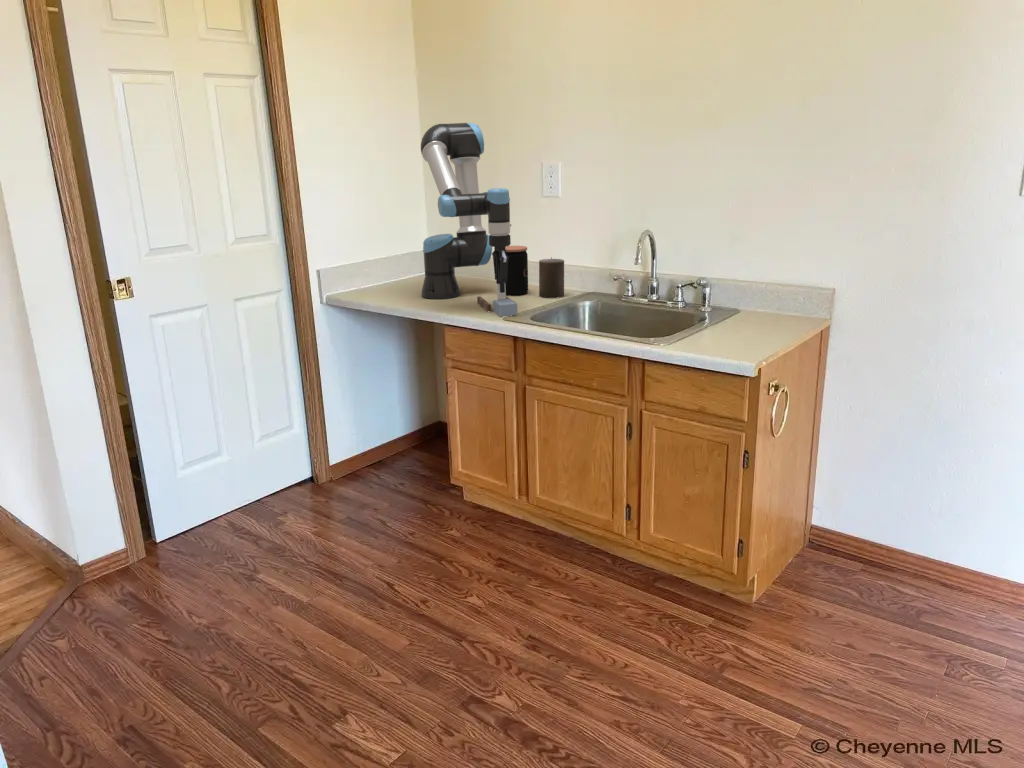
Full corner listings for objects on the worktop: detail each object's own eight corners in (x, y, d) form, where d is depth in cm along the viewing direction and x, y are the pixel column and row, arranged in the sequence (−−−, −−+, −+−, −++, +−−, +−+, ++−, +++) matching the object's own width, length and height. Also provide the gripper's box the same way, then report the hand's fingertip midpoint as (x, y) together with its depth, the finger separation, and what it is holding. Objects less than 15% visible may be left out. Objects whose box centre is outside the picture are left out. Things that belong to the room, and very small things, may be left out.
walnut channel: (477, 303, 295) (477, 296, 294) (504, 300, 297) (503, 294, 297) (488, 312, 280) (488, 305, 279) (516, 309, 283) (516, 302, 282)
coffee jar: (529, 295, 306) (528, 249, 300) (502, 296, 305) (500, 250, 299) (527, 290, 316) (526, 245, 310) (500, 291, 315) (499, 246, 309)
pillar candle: (555, 299, 298) (555, 259, 293) (534, 296, 303) (533, 257, 299) (569, 295, 305) (569, 256, 301) (548, 292, 311) (548, 254, 306)
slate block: (493, 312, 280) (493, 300, 279) (509, 311, 282) (509, 298, 281) (500, 317, 272) (500, 305, 271) (517, 316, 274) (516, 303, 272)
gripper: (515, 235, 268) (517, 303, 276) (504, 231, 280) (506, 296, 288) (494, 237, 266) (496, 305, 274) (484, 232, 278) (486, 298, 286)
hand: (501, 300), depth 281 cm, fingers closed
